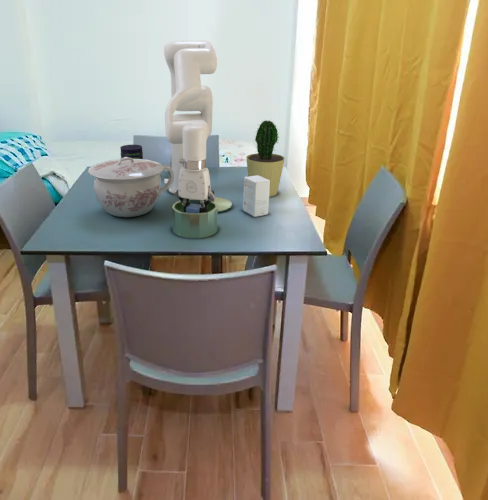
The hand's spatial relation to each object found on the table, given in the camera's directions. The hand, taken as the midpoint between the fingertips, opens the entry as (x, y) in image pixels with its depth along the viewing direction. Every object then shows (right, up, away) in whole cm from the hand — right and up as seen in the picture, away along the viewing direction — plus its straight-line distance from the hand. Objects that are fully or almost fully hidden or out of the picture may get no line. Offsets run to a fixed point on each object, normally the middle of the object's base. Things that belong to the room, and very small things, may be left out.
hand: (195, 216), depth 165 cm
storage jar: (-28, +20, +57) cm, 67 cm away
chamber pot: (-24, +3, +19) cm, 31 cm away
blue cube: (0, -1, 0) cm, 1 cm away
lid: (+6, +6, +23) cm, 24 cm away
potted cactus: (+29, +12, +38) cm, 49 cm away
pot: (0, -4, +2) cm, 5 cm away
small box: (+23, +2, +17) cm, 28 cm away
